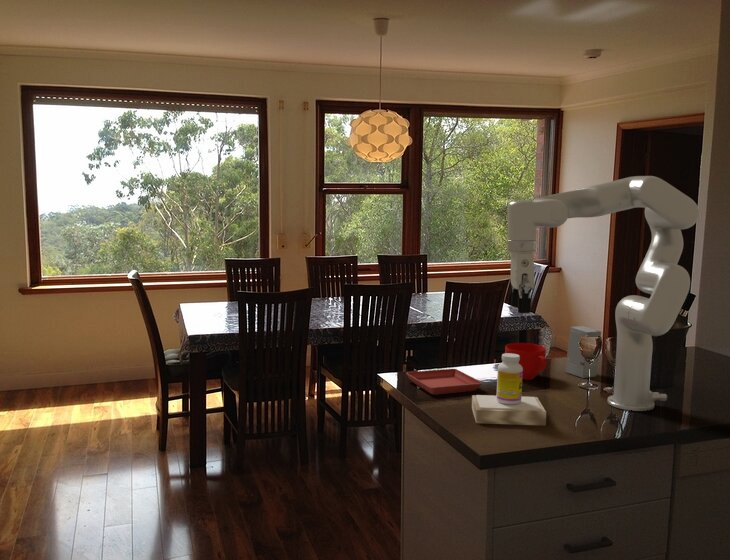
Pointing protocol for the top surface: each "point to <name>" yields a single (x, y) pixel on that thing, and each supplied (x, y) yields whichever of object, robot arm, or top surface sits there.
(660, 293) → the robot arm
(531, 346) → the ceramic cup
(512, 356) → the supplement bottle
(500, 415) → the birch base
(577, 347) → the skincare box
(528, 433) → the top surface
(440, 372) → the plant saucer
